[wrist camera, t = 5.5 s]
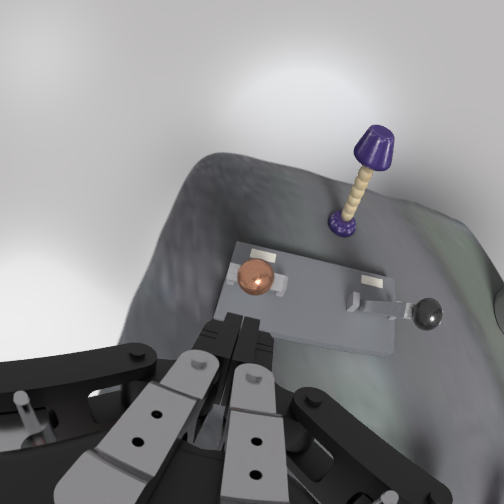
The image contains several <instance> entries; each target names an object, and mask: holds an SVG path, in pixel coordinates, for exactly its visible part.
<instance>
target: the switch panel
mask: <svg viewBox="0 0 504 504" xmlns="http://www.w3.org/2000/svg"><path fill="white" fill-rule="evenodd" d="M252 258H260V259H263V260H265V261H267V262H268V263H269V264H270V265H271V266H272V268H273V270H274V273H277V274H281V275H285V279H284V283H283V288H282V292H272V291H268V292H266V293H265V294H263V295H259V296H253V295H249V294H247V293H245V292H244V291H243V290H242V289H241V288H240V286H239V284H238V283H235V282H233V281H231V280H228V279H226V278H227V275H226V278H225V281H224V285H223V288H222V291H221V295H220V298H219V301H218V305H217V308H216V311H215V315H214V319H215V320H219V321H224V319H225V317H226V314H227V312H231V313H235V314H239V315H243V320H244V317H245V316H247V317H251V318H255V319H259V320H260V326H259V330H260V331H264V332H268V333H270V334H271V336H272V337H274V338H279V339H283V340H288V341H293V342H298V343H303V344H308V345H313V346H318V347H324V348H329V349H335V350H341V351H347V352H353V353H359V354H366V355H373V356H380V357H387V356H390V355H392V354H394V338H395V319H396V318H395V317H389V316H384V315H379V314H374V313H369V312H364V311H359V310H358V309H357V308H358V307H359V305H360V300H367V301H384V302H399V301H395V279H393V278H389V277H385V276H381V275H377V274H373V273H369V272H365V271H361V270H356V269H352V268H348V267H344V266H340V265H336V264H332V263H327V262H323V261H319V260H315V259H311V258H307V257H302V256H298V255H294V254H290V253H286V252H281V251H277V250H273V249H269V248H264V247H260V246H256V245H252V244H247V243H243V242H239V241H237V242H236V245H235V249H234V252H233V255H232V258H231V263H235V264H239V265H242V264H243V263H244V262H245V261H246V260H248V259H252ZM229 266H230V265H229ZM228 270H229V268H228ZM227 274H228V271H227ZM243 320H242V324H243ZM242 324H241V327H242ZM240 330H241V329H240Z"/></svg>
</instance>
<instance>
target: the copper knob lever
mask: <svg viewBox="0 0 504 504" xmlns="http://www.w3.org/2000/svg"><path fill="white" fill-rule="evenodd" d="M226 279H228V280H231V281H233V282H235V283H238V284H239V286H240V288H241V289H242V290H243V291H244V292H245V293H247V294H249V295H253V296H259V295H263V294H265V293H266V292H268V291H272V292H282V288H283V283H284V279H285V275H281V274H277V273H274V270H273V268H272V266H271V265H270V264H269V263H268V262H267V261H265V260H263V259H260V258H252V259H248V260H246V261H245V262H244V263H243V264H242V265H239V264H235V263H231V262H230V266H229V270H228V274H227V278H226Z"/></svg>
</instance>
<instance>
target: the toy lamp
mask: <svg viewBox="0 0 504 504" xmlns="http://www.w3.org/2000/svg"><path fill="white" fill-rule="evenodd" d="M393 149H394V135H393V133H392V132H391V131H390V130H389V129H387V128H386V127H384V126H380V125H372V126H371V127H369V129H368V130H367V131H366V133H365V134H364V135H363V136H362V138H361V139H360V140H359V142H358V143H357V144H356V146H355V148H354V155H355V157H356V159H357V160H358V161H359V162H360V163H361V164H362V167H361V168H360V169H359V172H358V176H357V177H356V179H355V184H354V185H353V186H352V188H351V193H350V194H349V196H348V201H347V202H346V203H345V207H344V209H343V210H342V211H337V212H334V213H333V214H332V215H331V216H330V217H329V220H328V225H329V227H330V229H331V230H332V231H333V232H334V233H335V234H337V235H338V236H341V237H348V236H351V235H352V234H353V233H354V232H355V230H356V221H355V219H354V217H353V215H354V212H355V211H356V209H357V205H358V204H359V203H360V201H361V197H362V196H363V195H364V192H365V189H366V188H367V186H368V182H369V180H370V179H371V177H372V174H373V171H374V170H375V171H385V170H387V169H388V168H389V167H390V166H391V162H392V155H393Z"/></svg>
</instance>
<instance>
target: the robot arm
mask: <svg viewBox="0 0 504 504" xmlns="http://www.w3.org/2000/svg"><path fill="white" fill-rule="evenodd" d="M494 307H495V315H496V319H497V322H498V324H499V327H500V328H501V330H502V332H503V333H504V286H503V288H502V290H501V291H499V292H498V293H497V295H496V297H495V304H494ZM242 320H243V315H239V314H235V313H231V312H227V314H226V317H225V319H224V321H219V320H215V319H213V320H211V321H209V322H207V323H206V324H205V326H204V328H203V330H202V331H201V333H200V335H199V337H198V339H197V340H196V342H195V344H194V346H193V348H192V349H191V350H189V351H186V352H184V353H182V354H181V356H180V357H179V358H178V360H165V359H157V354H156V352H155V350H154V349H153V348H151V347H149V346H148V345H145V344H142V343H127V344H122V345H117V346H111V347H106V348H101V349H95V350H89V351H83V352H76V353H71V354H64V355H56V356H49V357H43V358H34V359H26V360H17V361H8V362H0V504H318V503H317V502H316V501H315V500H314V498H313V497H312V496H311V495H310V494H309V493H308V492H307V491H306V490H305V489H304V487H303V486H302V485H301V484H300V483H299V482H297V481H296V480H295V479H294V478H292V477H291V476H290V475H288V474H287V467H288V469H289V470H290V471H291V472H292V473H293V474H294V475H295V476H296V477H297V478H298V479H299V480H300V482H301V483H302V484H303V485H304V486H305V487H306V488H307V489H308V490H309V491H310V492H311V493H312V494H313V495H314V496H315V497H316V498H317V499H318V500H319V501H320V502H321V503H322V504H452V502H453V498H452V494H451V492H450V490H449V489H448V488H447V487H446V486H445V485H444V484H442V483H441V482H439V481H438V480H436V479H435V478H434V477H432V476H431V475H429V474H428V473H427V472H425V471H424V470H422V469H421V468H420V467H418V466H417V465H416V464H414V463H413V462H411V461H410V460H409V459H407V458H406V457H405V456H403V455H402V454H401V453H399V452H398V451H397V450H396V449H394V448H393V447H392V446H390V445H389V444H388V443H386V442H385V441H384V440H383V439H381V438H380V437H379V436H378V435H376V434H375V433H374V432H373V431H371V430H370V429H369V428H368V427H366V426H365V425H364V424H363V423H361V422H360V421H359V420H358V419H356V418H355V417H354V416H353V415H352V414H350V413H349V412H348V411H347V410H346V409H344V408H343V407H342V406H341V405H340V404H338V403H337V402H336V401H335V400H334V399H333V398H331V397H330V396H329V395H328V394H327V393H325V392H324V391H322V390H320V389H317V388H313V387H303V388H300V389H298V390H296V392H295V393H293V392H290V391H288V390H286V389H284V388H282V387H280V386H279V385H278V384H276V383H275V381H274V376H273V374H272V373H271V372H272V359H273V344H274V339H273V338H272V336H271V334H270V333H268V332H264V331H260V330H259V326H260V320H259V319H255V318H251V317H247V316H245V317H244V320H243V324H242ZM241 324H242V327H241ZM240 329H241V330H240ZM239 333H240V334H239ZM226 381H227V382H226ZM225 384H226V387H225ZM116 385H120V390H119V391H115V392H110V393H106V394H102V395H98V396H93V397H89V398H88V396H89V394H90V393H91V392H93V391H95V390H99V389H104V388H108V387H112V386H116ZM224 388H225V391H224ZM223 391H224V395H223V399H222V404H221V405H223V406H226V407H225V411H224V416H223V419H222V424H221V431H220V437H219V444H218V450H204V449H200V448H198V447H196V443H197V441H198V439H199V437H200V435H201V433H202V430H203V428H204V426H205V424H206V422H207V420H208V417H209V413H210V411H211V410H212V407H213V404H214V403H215V404H218V405H219V404H220V401H221V398H222V394H223ZM314 439H316V440H317V441H318V442H320V443H321V444H322V445H323V446H324V447H325V448H326V449H327V450H328V451H329V452H330V453H331V454H332V456H333V458H334V460H333V459H332V458H331V457H330V456H329V455H328V454H327V453H326V452H325V451H324V450H323V449H322V448H321V447H320V446H319V445H317V444H316V443H315V442H314Z"/></svg>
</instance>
